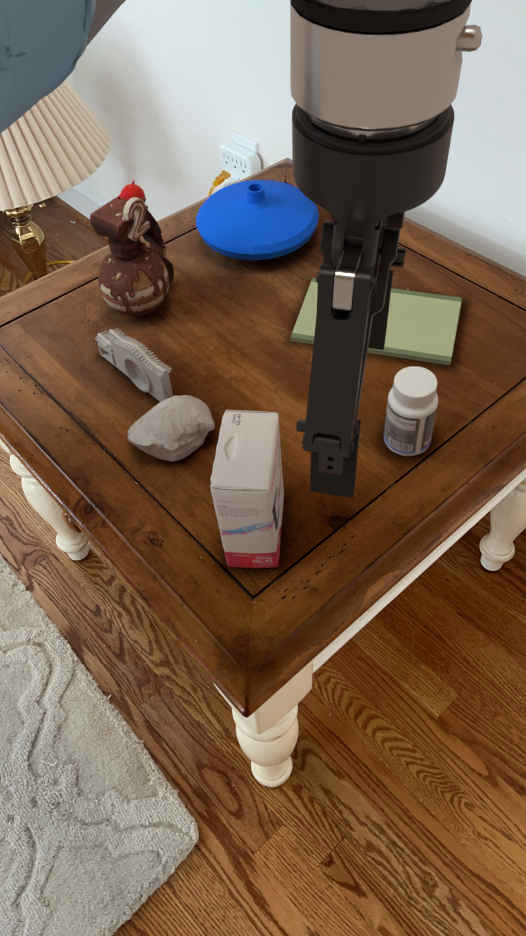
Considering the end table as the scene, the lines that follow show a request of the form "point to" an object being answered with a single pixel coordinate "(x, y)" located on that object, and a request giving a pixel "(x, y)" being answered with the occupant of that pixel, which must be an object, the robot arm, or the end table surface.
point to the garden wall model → (136, 363)
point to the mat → (401, 325)
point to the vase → (257, 220)
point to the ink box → (249, 488)
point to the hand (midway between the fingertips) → (350, 411)
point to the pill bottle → (411, 411)
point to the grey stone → (172, 428)
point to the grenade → (132, 254)
